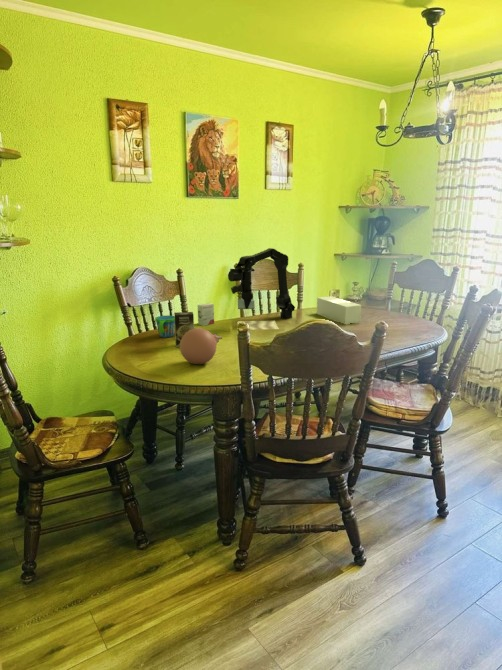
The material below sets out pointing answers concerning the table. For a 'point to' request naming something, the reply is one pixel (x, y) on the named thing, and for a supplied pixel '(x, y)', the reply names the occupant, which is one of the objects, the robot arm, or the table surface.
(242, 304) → the block
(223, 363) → the table surface
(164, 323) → the snack cup
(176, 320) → the coffee box
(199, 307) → the ink box
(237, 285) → the robot arm
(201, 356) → the balloon
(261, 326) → the maple board
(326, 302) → the stack of papers
